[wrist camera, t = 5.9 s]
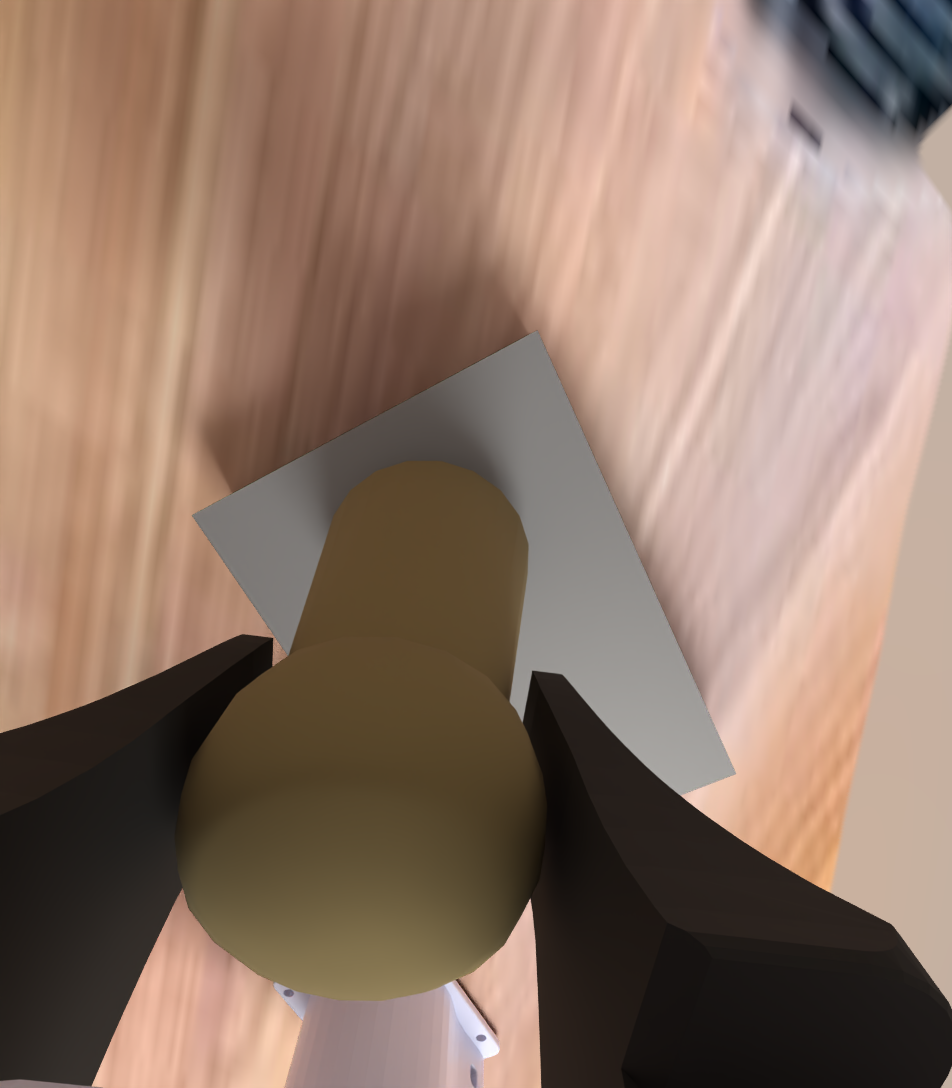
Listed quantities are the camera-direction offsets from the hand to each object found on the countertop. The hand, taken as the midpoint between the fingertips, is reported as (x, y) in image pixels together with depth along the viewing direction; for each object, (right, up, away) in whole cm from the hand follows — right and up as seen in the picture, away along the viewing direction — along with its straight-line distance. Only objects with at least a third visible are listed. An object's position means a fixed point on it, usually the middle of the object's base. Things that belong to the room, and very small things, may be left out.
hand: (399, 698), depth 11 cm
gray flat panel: (+2, 0, +11) cm, 11 cm away
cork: (0, +3, +6) cm, 6 cm away
